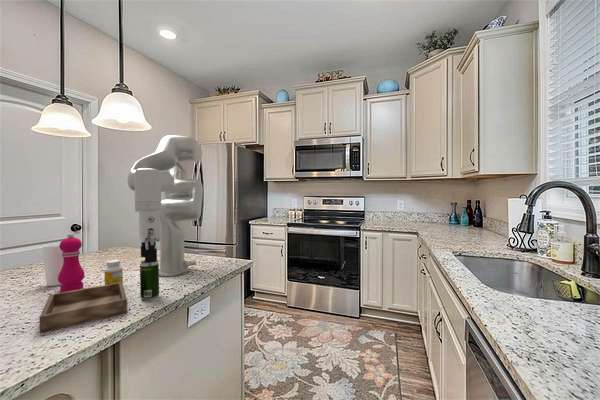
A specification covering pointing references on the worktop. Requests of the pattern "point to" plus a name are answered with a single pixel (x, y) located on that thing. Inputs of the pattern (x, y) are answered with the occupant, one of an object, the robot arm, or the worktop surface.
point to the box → (83, 306)
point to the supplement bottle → (113, 272)
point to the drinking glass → (52, 263)
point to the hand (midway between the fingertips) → (148, 259)
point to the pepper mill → (71, 265)
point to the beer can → (149, 280)
